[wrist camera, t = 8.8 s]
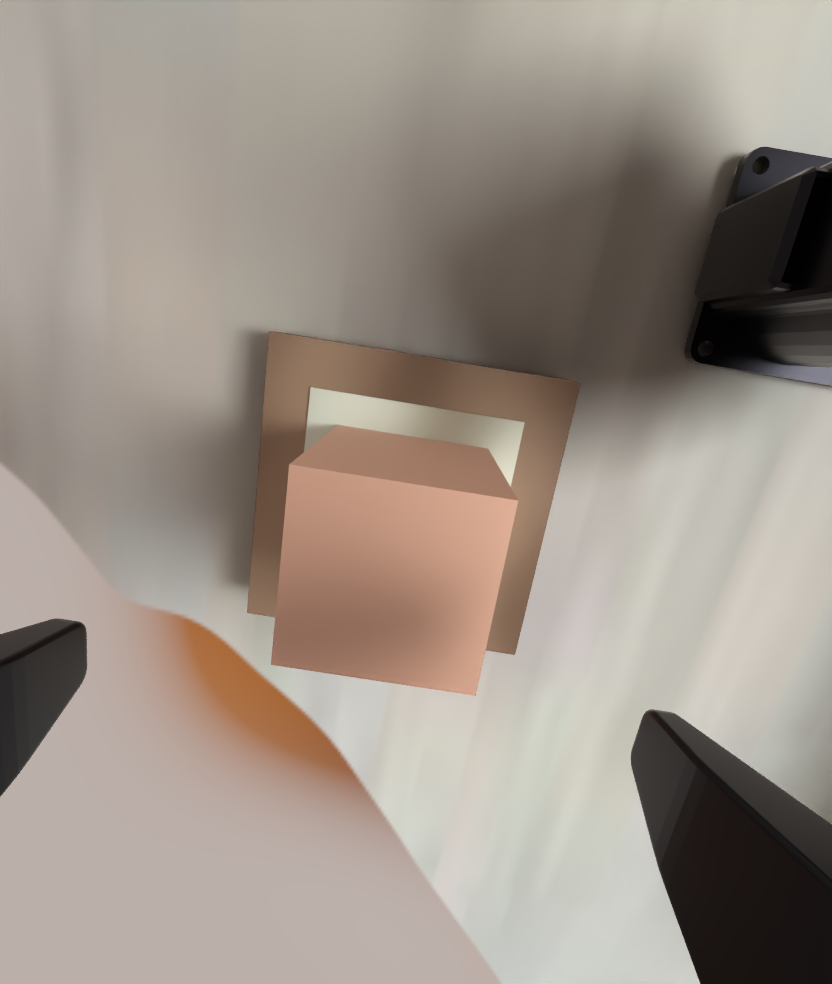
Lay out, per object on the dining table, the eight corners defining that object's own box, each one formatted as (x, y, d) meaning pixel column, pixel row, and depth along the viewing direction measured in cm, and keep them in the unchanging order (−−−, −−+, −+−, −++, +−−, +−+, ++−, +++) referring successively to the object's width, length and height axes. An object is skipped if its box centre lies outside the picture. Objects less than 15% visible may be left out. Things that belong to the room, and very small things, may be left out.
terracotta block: (488, 448, 17) (518, 500, 11) (461, 585, 18) (475, 695, 12) (337, 424, 17) (289, 464, 11) (321, 564, 18) (271, 664, 12)
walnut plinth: (564, 379, 18) (581, 383, 16) (507, 626, 21) (515, 656, 19) (286, 333, 18) (268, 331, 16) (264, 588, 21) (246, 614, 19)
